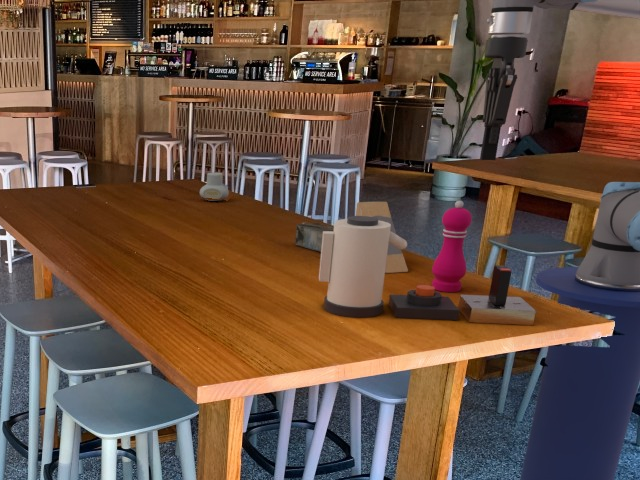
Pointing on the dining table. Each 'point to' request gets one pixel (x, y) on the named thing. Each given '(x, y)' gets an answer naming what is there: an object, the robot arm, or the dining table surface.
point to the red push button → (425, 290)
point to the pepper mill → (452, 250)
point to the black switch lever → (499, 285)
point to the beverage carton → (311, 235)
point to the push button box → (423, 306)
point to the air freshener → (214, 187)
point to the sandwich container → (382, 213)
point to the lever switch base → (496, 310)
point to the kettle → (356, 265)
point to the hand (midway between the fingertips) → (487, 159)
